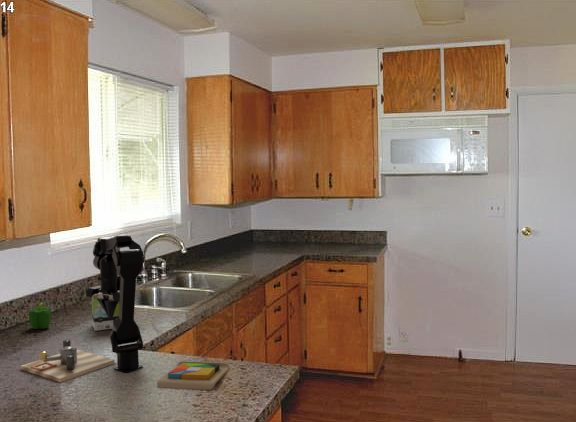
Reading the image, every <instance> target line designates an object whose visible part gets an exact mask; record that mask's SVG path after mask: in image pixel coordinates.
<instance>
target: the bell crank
mask: <svg viewBox="0 0 576 422" xmlns="http://www.w3.org/2000/svg"><path fill="white" fill-rule="evenodd" d="M77 350H78V349H77V347H74V346H72V343H71V340H70V339H64V340H63V341H62V349H60V350H59V354H60V356H55V357H51V356H49V353H48V352H46V351H41V352H39V353H38V360H42V361H44V362H48V361H55V360H61V364H66V367H67V370H68V371H71V370H74V369H75V362H77Z"/></svg>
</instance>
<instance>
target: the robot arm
mask: <svg viewBox="0 0 576 422" xmlns="http://www.w3.org/2000/svg"><path fill="white" fill-rule="evenodd" d="M125 248H128V249H125ZM121 249H122V250H121ZM123 249H124V250H123ZM92 254H93V261H92V263H93V266H94V268H95V269H96V270H99V276H98V277H97V281H100V285H96V286H90V287H88V288H87V289H86V291H85V294H86V297H88V298H92V296H93V295H95V294H98V295H99V298H98V299H97V300H98V301H99V303H100V304H101V306H102V307H103V309H104V311H105V312H106V314H107V316H108V318H110V319H111V318H113V315H114V312H115V309H116V306H117V304H118V302H120V303H119V317H118V318H117V319H114V321H113V329H111V330H112V331H111V332H110V335H109V339H110V345H111V353H116V358H117V359H116V360H117V366H115V367H114V368H113V370H115V371H118V372H122V373H127V374H128V373H132V372H133V371H136V370H139V369H142V368H143V367H144V366H143V365H142V364H139V360H140V359H139V350H143V349H144V342H143V338H142V334H141V332H140V327H139V325H138V323H137V322H136V320H135V308H136V307H135V303H136V289H137V288H136V287H137V278H138V277H139V276H140V274H141V273H142V271H143V266H144V265H143V264H144V263H145V254H144V251H143V249H142V246H141V245H140V244H139V243H137V242H136V241H134V240H133V238H132V236H131V234H130V235H129V234H117V235H114V236H109V237H106V236H105V237H98V238H97V239H96V241H95V244H94V246H93V250H92ZM118 273H119V274H120V275H119V274H118ZM118 291H119V292H118Z"/></svg>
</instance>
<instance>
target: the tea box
mask: <svg viewBox="0 0 576 422" xmlns="http://www.w3.org/2000/svg"><path fill="white" fill-rule="evenodd" d="M118 292H119V291H118ZM98 298H99V295H98V294H95V295H93V296H92V297H91V316H92V317H91V322H92V323H91V325H92V327H93V330H94V332H96V331H102V330H103V331H105V330H112V329H113V321H114V319H117V318H118V317H119V303H120V302H118V304H117V306H116V309H115V312H114V315H113V318H111V319H110V318H108V316H107V314H106V312H105V311H104V309H103V307H102V306H101V304H100V303H99V301H98V300H97V299H98Z"/></svg>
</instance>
